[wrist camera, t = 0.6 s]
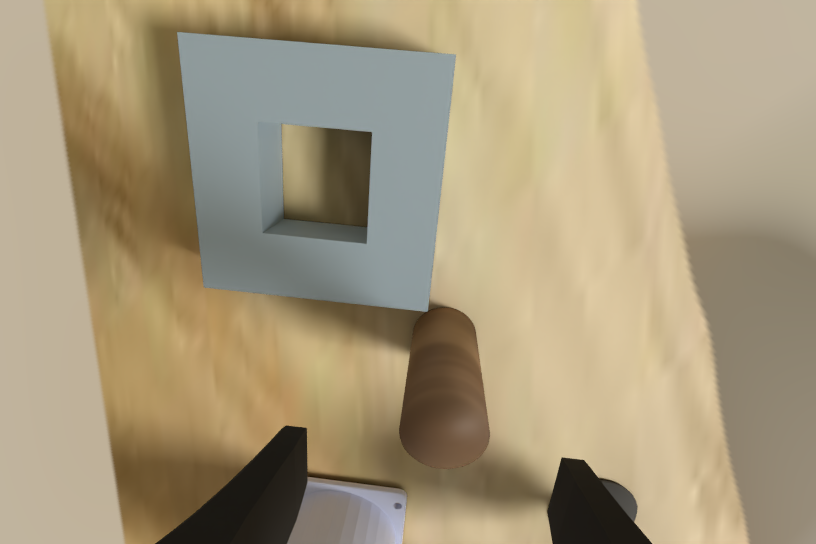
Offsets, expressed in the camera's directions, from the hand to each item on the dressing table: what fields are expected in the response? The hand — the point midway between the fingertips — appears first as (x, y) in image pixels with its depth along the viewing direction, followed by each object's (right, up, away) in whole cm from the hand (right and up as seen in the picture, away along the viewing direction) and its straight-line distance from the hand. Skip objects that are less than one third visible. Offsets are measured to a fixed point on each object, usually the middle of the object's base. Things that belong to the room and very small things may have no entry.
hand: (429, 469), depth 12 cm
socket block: (-4, +10, +7) cm, 13 cm away
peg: (+1, +2, +10) cm, 10 cm away
